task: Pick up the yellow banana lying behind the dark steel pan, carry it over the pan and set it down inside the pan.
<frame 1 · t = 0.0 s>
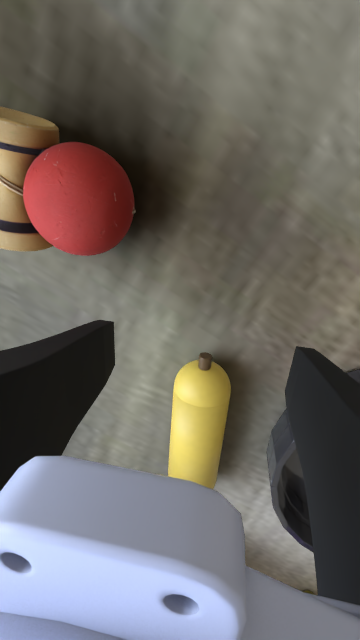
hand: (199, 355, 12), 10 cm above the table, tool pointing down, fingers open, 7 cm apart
kendama: (20, 174, 20), on the table
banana: (199, 415, 26), on the table
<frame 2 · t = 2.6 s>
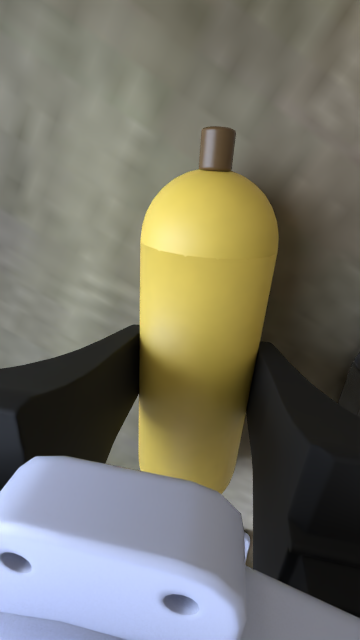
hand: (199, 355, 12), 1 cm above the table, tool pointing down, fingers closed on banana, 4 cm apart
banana: (201, 339, 13), on the table, touching gripper
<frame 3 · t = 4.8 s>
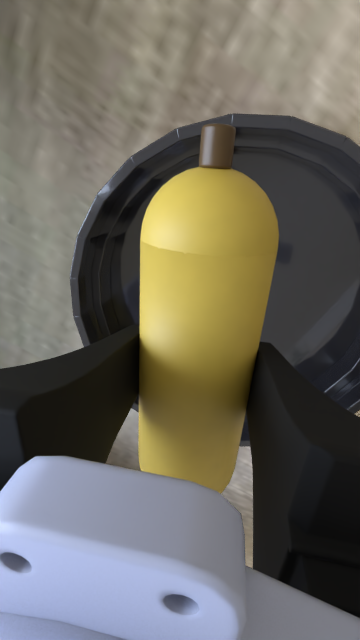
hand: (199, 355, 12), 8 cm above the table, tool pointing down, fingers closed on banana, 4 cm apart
pan: (232, 294, 19), on the table
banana: (201, 338, 13), point 7 cm above the table, touching gripper
when the fingers open (2 cm above the table, at t = 7.0 s): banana stays where it is, resting on pan.
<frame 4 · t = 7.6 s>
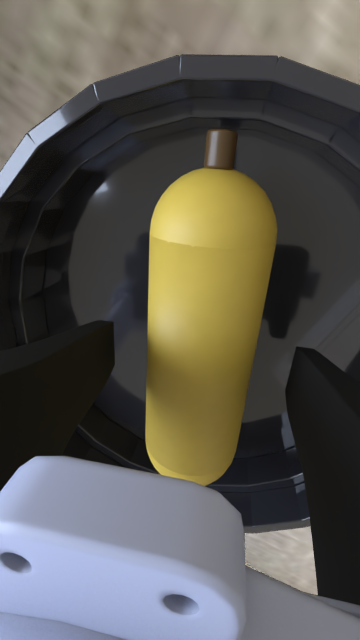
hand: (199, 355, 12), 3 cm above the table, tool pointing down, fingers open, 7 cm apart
pan: (205, 326, 14), on the table
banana: (204, 329, 14), resting on pan
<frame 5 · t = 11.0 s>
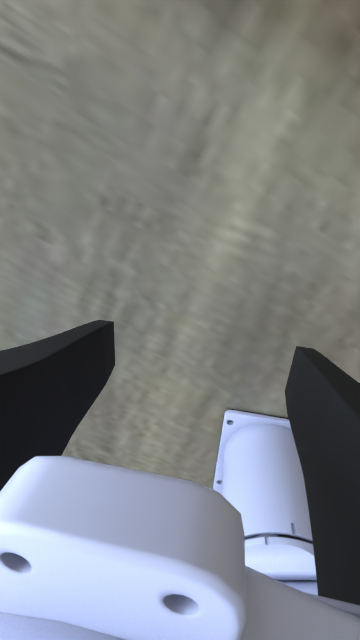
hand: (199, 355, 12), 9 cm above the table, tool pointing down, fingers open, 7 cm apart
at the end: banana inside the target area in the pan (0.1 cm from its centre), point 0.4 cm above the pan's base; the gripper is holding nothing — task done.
